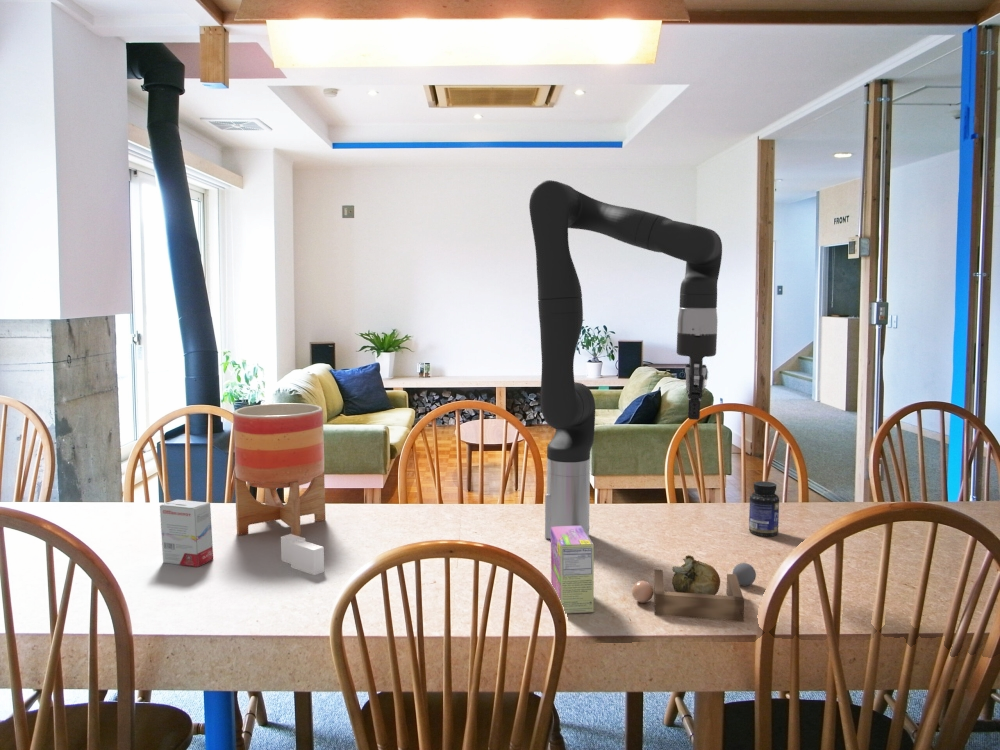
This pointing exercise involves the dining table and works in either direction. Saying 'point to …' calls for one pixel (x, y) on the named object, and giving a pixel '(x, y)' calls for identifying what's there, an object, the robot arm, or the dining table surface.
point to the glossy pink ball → (642, 591)
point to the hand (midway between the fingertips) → (693, 418)
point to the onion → (695, 577)
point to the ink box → (186, 532)
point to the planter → (279, 463)
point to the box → (572, 568)
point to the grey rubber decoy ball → (744, 574)
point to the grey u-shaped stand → (699, 601)
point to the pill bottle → (764, 509)
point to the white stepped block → (302, 554)
